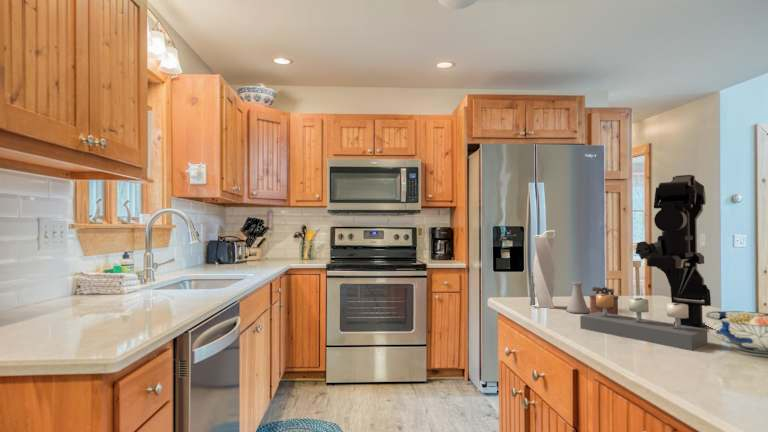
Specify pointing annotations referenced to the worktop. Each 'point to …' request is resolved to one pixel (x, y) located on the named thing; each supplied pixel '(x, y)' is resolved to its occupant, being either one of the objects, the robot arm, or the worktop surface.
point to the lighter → (596, 308)
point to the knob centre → (638, 307)
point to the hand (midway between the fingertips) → (677, 294)
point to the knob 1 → (604, 302)
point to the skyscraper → (543, 272)
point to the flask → (577, 300)
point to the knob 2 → (677, 312)
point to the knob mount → (645, 330)
